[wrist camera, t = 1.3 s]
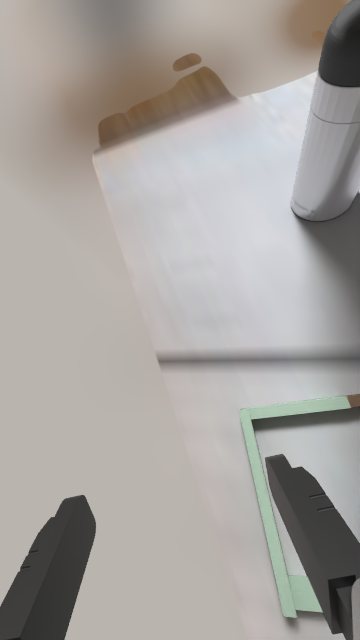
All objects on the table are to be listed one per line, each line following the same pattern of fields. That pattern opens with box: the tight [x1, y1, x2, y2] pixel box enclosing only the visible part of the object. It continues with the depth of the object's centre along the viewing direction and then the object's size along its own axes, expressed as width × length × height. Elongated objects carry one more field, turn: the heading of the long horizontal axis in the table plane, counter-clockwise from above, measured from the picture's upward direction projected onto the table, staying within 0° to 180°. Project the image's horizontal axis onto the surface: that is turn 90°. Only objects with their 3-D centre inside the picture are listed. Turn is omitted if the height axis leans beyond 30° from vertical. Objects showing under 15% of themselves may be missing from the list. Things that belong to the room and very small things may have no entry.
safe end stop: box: [239, 396, 351, 618], centre depth 23 cm, size 13×18×3 cm
